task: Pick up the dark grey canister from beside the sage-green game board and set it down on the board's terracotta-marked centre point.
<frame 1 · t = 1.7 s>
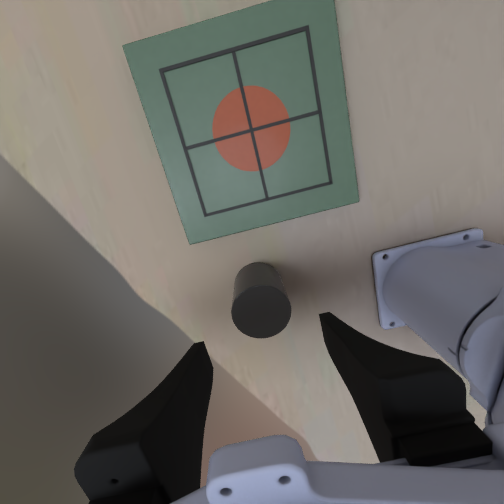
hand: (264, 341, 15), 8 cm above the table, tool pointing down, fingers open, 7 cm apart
board: (251, 134, 19), on the table
dark grey canister: (258, 284, 23), on the table
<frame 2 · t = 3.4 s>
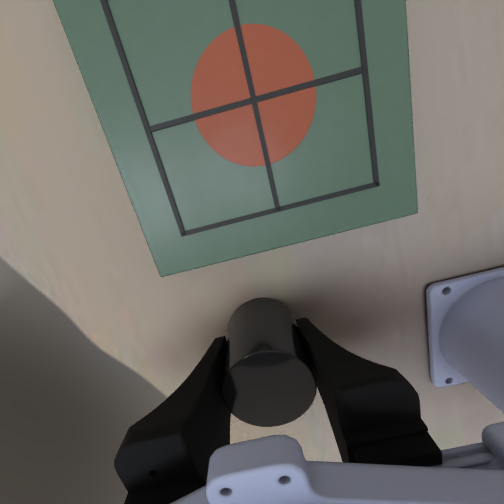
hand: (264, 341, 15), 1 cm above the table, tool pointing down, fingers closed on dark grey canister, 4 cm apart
board: (252, 109, 12), on the table
dark grey canister: (262, 328, 16), on the table, touching gripper
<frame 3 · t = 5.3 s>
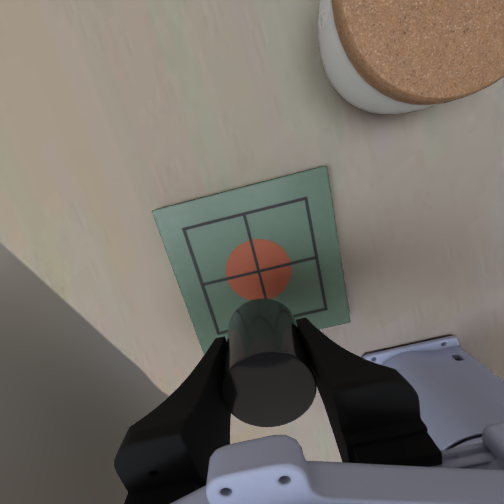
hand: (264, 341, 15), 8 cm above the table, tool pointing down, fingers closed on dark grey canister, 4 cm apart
trinket box: (371, 51, 18), on the table
board: (257, 265, 22), on the table
dark grey canister: (262, 328, 16), point 7 cm above the table, touching gripper
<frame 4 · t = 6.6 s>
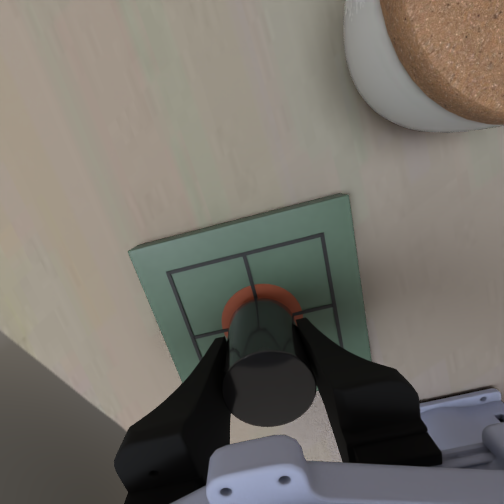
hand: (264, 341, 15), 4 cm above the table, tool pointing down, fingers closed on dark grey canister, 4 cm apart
trinket box: (407, 48, 14), on the table
board: (261, 310, 18), on the table
dark grey canister: (262, 328, 16), point 2 cm above the table, touching gripper
when the fingers open (3 cm above the table, at t = 7.3 s): dark grey canister stays where it is, resting on board.
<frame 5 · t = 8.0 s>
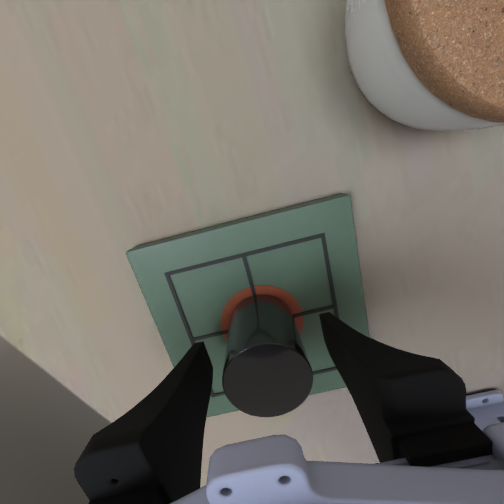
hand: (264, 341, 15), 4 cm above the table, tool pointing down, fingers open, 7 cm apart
trinket box: (409, 45, 14), on the table
board: (261, 311, 18), on the table
dark grey canister: (261, 323, 16), point 2 cm above the table, touching board
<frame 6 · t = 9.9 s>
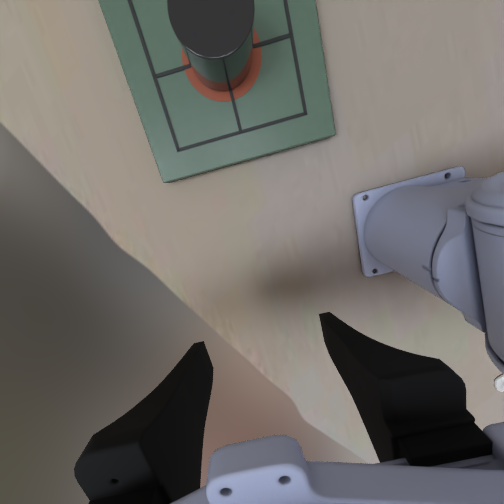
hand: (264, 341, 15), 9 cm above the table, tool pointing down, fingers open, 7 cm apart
board: (223, 66, 19), on the table
dark grey canister: (221, 55, 17), point 2 cm above the table, touching board
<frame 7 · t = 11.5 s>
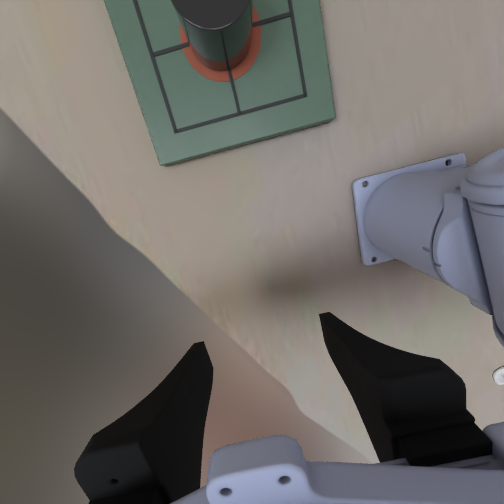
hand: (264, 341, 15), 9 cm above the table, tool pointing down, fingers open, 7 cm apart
board: (222, 46, 18), on the table
dark grey canister: (219, 34, 17), point 2 cm above the table, touching board
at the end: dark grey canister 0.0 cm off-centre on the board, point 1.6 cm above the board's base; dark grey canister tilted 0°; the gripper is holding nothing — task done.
